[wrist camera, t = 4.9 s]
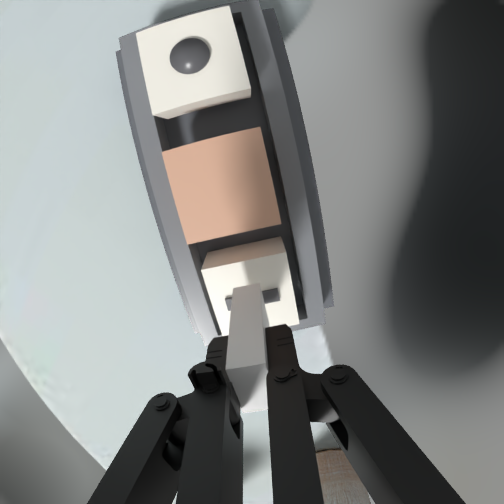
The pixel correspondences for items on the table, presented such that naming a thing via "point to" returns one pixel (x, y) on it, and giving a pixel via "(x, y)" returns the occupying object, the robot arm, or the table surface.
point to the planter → (340, 479)
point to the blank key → (222, 185)
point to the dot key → (193, 63)
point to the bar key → (251, 280)
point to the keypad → (278, 154)
